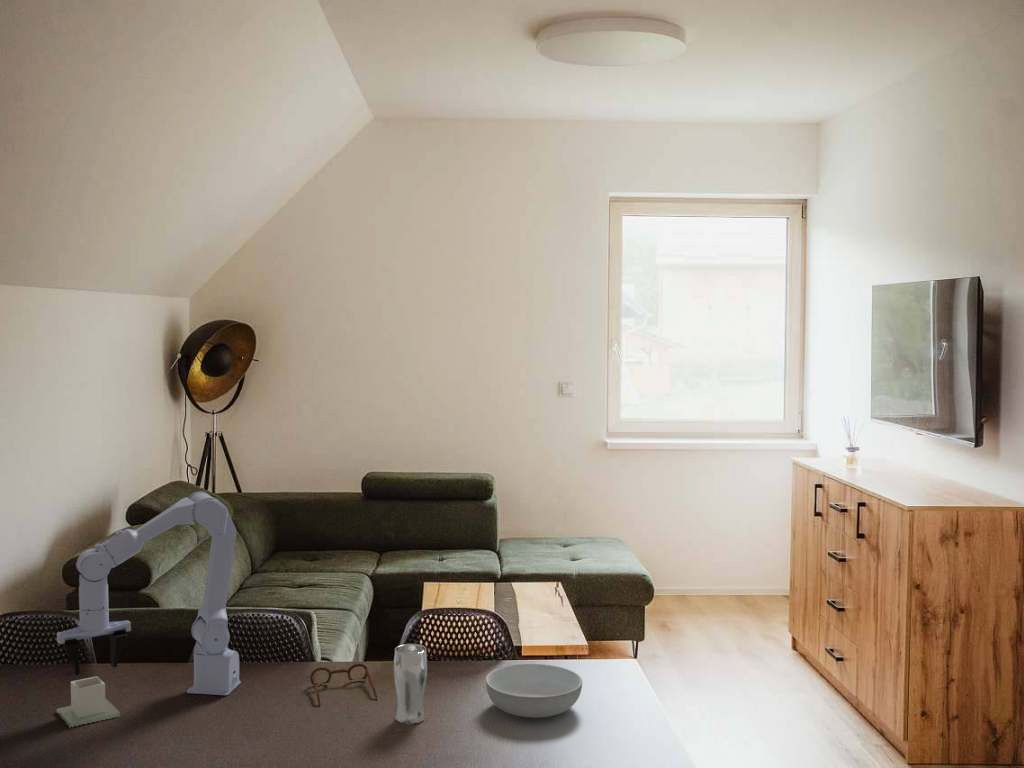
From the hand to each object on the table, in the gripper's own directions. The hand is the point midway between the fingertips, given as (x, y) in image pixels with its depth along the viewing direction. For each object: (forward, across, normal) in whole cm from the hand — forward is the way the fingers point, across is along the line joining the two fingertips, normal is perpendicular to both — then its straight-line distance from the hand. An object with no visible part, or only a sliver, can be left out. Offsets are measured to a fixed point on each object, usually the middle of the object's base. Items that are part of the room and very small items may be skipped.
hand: (95, 670), depth 215 cm
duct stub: (+8, +2, +2) cm, 9 cm away
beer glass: (+9, -50, +44) cm, 68 cm away
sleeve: (+8, +2, +2) cm, 8 cm away
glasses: (+9, -46, +23) cm, 53 cm away
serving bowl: (+9, -74, +56) cm, 94 cm away
